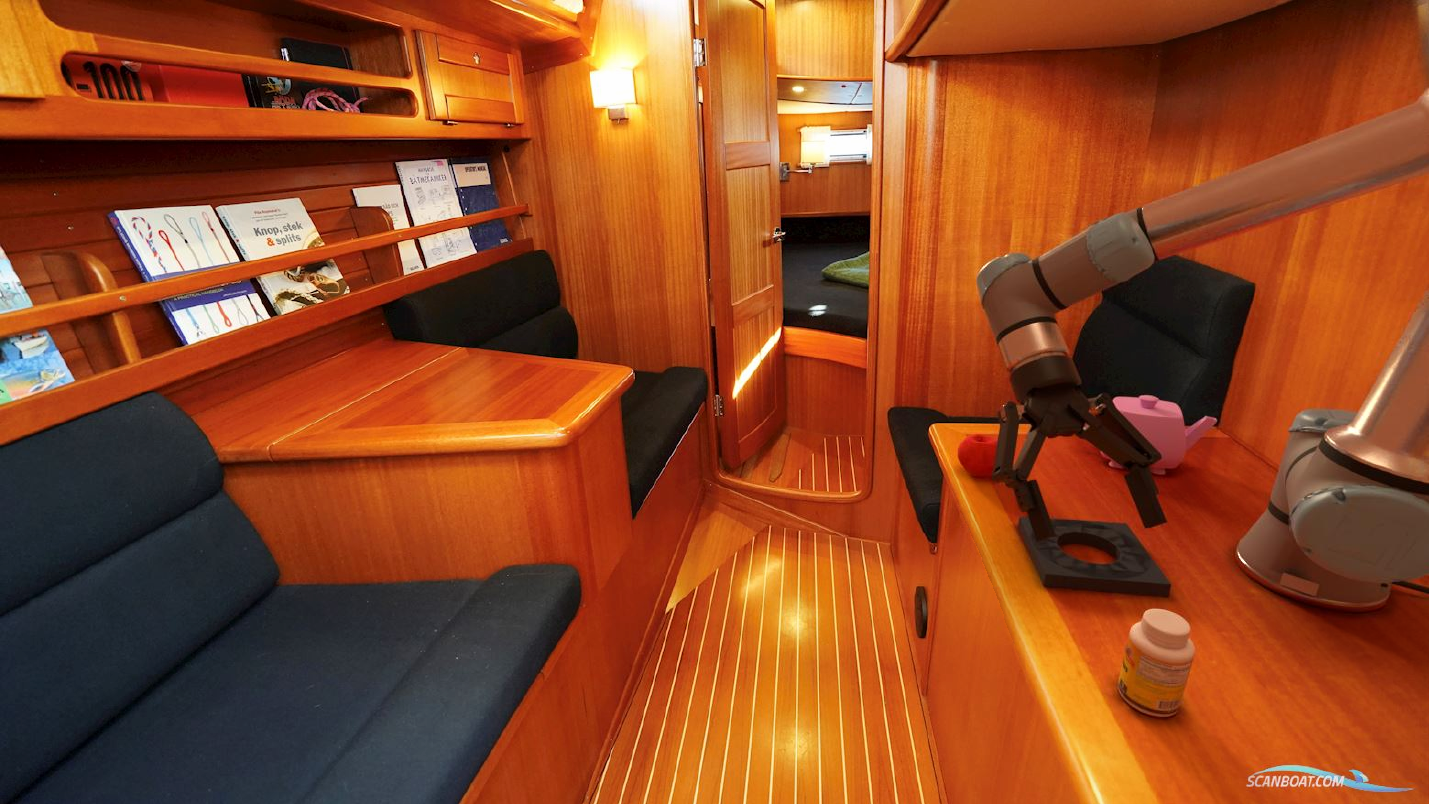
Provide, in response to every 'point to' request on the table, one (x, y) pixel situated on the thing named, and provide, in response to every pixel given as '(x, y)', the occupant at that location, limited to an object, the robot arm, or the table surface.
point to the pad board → (1122, 576)
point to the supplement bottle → (1157, 663)
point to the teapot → (1161, 428)
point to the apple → (978, 455)
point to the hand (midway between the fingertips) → (1101, 532)
